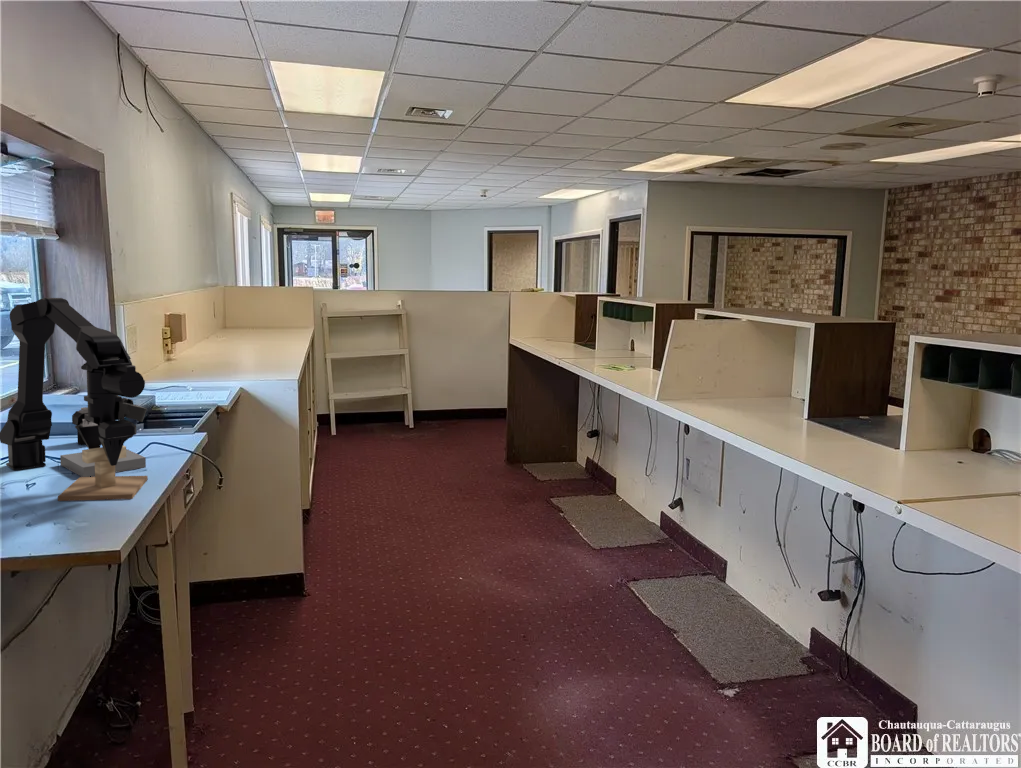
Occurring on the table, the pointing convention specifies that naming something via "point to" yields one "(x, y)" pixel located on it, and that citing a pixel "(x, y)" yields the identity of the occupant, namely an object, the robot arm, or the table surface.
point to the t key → (102, 466)
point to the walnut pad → (103, 489)
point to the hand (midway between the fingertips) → (104, 461)
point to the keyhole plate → (88, 469)
